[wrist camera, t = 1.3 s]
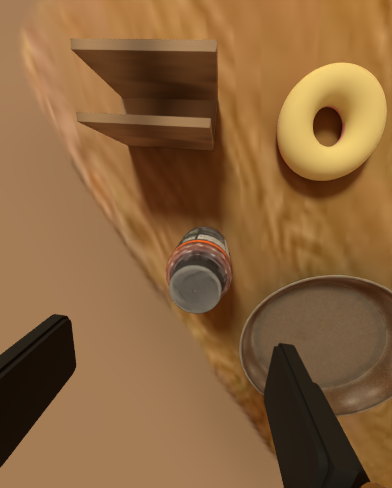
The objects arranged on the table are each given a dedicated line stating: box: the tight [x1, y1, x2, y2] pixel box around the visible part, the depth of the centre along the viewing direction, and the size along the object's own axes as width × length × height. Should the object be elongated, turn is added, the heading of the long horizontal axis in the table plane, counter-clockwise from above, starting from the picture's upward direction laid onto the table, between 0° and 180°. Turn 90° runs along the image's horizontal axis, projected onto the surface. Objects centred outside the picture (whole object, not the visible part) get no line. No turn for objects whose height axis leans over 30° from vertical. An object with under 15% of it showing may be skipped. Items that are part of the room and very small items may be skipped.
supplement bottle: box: [166, 227, 232, 314], centre depth 20 cm, size 6×6×11 cm
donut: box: [277, 63, 387, 181], centre depth 19 cm, size 10×5×9 cm
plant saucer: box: [239, 275, 392, 417], centre depth 26 cm, size 21×21×3 cm
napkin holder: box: [70, 39, 218, 151], centre depth 18 cm, size 10×5×9 cm, turn 86°
